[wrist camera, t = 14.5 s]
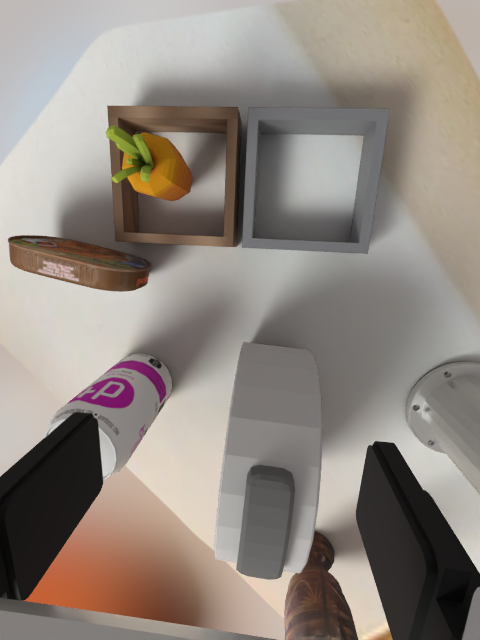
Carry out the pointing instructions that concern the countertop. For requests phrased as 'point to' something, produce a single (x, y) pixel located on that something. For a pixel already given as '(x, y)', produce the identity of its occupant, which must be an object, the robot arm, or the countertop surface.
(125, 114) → the frame
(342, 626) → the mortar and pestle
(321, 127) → the charcoal bin
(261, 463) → the alarm clock
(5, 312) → the countertop surface
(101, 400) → the supplement can
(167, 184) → the carrot
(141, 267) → the tin
